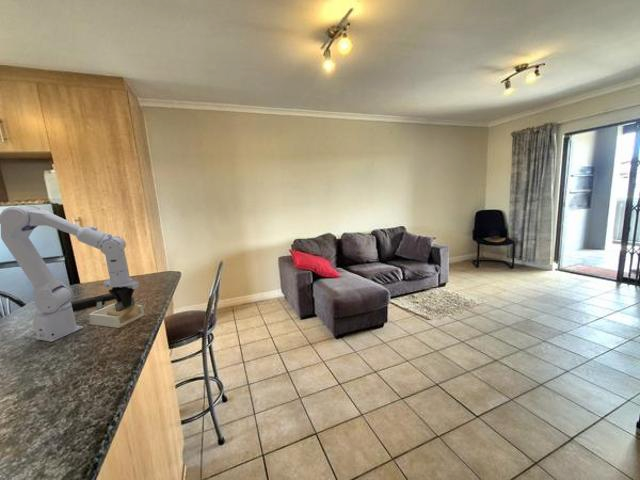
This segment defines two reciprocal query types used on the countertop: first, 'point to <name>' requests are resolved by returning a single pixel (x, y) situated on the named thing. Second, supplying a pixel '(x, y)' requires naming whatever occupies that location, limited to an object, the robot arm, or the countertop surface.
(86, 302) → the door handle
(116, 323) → the bay
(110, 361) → the countertop surface
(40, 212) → the robot arm
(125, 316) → the tan block with handle
